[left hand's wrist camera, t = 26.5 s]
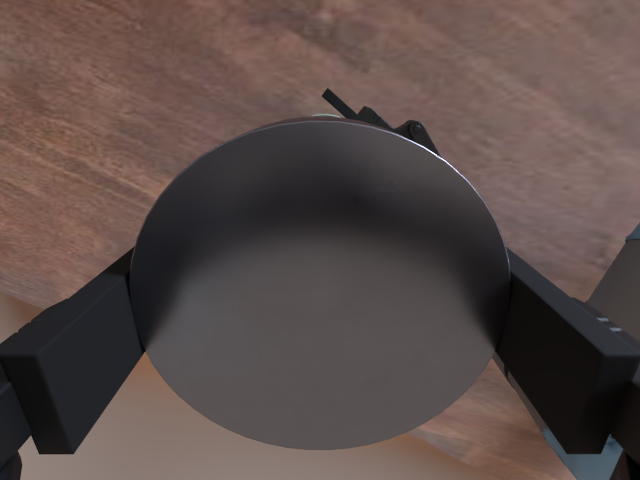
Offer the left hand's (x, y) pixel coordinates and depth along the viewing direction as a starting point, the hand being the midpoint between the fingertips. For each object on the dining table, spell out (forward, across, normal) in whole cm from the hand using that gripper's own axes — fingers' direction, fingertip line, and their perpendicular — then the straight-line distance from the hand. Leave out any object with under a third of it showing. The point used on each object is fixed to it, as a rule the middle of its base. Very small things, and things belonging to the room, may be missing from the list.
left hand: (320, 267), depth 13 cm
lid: (-3, 0, 0) cm, 3 cm away
